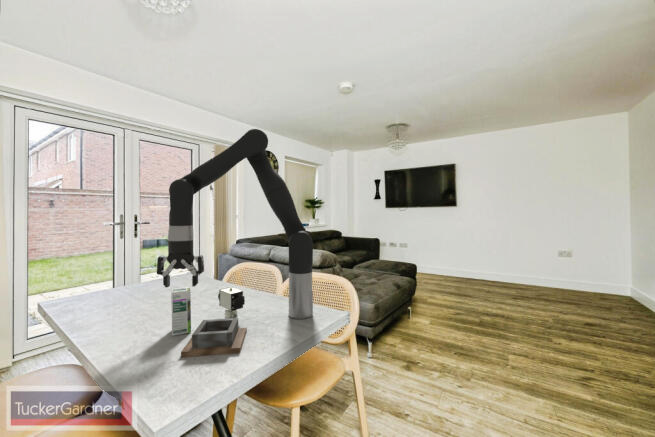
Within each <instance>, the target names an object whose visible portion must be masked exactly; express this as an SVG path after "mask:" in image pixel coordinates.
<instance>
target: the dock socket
mask: <svg viewBox="0 0 655 437" xmlns="http://www.w3.org/2000/svg"><path fill="white" fill-rule="evenodd" d="M247 329H248V327H239V317H238V318H230V319H225V318H218V319H216V318H214V319H203V320H202V321H201V322H200V323H199V325H198V326H197V327H196V329H195V330H194V331H193V333H192V334H191V337H190V339H189V340H188V342H187V343H186V345H185V346H184V347H183V349H182V350H181V351H180V358H187V357H202V356H203V357H204V356H215V355H216V356H217V355H230V354H231V355H232V354H241V351H242V348H243V345H244V343H245V339H246V335H247V332H248V331H247Z"/></svg>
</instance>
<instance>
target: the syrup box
mask: <svg viewBox="0 0 655 437" xmlns="http://www.w3.org/2000/svg"><path fill="white" fill-rule="evenodd" d="M170 295H171V296H170V298H171V300H170V301H171V336H172V337H174V336H177V335H178V336H179V335H185V334H190V333H191V332H192V318H191V316H192V315H191V314H192V311H191V310H192V309H191V305H192V304H191V301H192V298H191V295H192V294H191V286H186V287H178V288H177V287H176V288H172V289H171V294H170Z"/></svg>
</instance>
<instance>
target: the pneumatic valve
mask: <svg viewBox="0 0 655 437" xmlns="http://www.w3.org/2000/svg"><path fill="white" fill-rule="evenodd" d="M217 299H218V301H219V307H222V308H224V309H225V310H224V315H225V316H224V319H230V318H238V319H239V317H238V310H241V309H243V308H244V305H245V304H246V303H245V296H244V291H243V290H241V289H239V288H233V286H232V287H231V286H230V287H225V288H222V289H221V288H220V289H219V291H218V294H217Z"/></svg>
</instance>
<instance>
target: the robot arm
mask: <svg viewBox="0 0 655 437" xmlns="http://www.w3.org/2000/svg"><path fill="white" fill-rule="evenodd" d="M268 145H269V138H268V136H267V134H266V133H265V132H264V131H263V130H262V129H258V128H252V129H249V130H248V131H247V132H245V133H244V134H243V135H242V136H241V137H240V138H238V140H236V141H235V142H234V143H233V144H231V145H230V146H229V147H227V148H226V149H225V150H222V151H221V152H220V153H218V154H217V155H216V156H214V157H212V158H210V159H209V160H207V161H205V162H204V163H201V164H200V165H199V166H196V168H194V169H193V170H192V171H191V172H190V173H188V174H186V175H184V176H183V177H181V178H179V179H178V178H177V179H175V180H173V181H172V182H171V183H170V185H169V187H168V193H169V207H170V208H169V213H168V214H169V215H168V234H167V242H168V243H167V246H168V247H167V252H168V254H167V256H164V255H161V256H158V257H157V259H156V260H157V262H156V263H157V265H156V275H161V276H162V283H163V286H164V288H169V287H170V286H171V275H170V273H171V272H172V271H173V270H188V271H189V272H190V273H191V275H192V276H191V277H192V278H191V279H192V280H191V283H192V284H191V286H192V287H194V288H195V287H197V285H198V284H199V275H200V274H203V273H204V272H205V264H204V263H205V262H204V261H205V260H204V256H203V255H197V256H196V255H194V228H193V224H194V223H193V221H194V220H193V204H194V203H193V202H194V195H195V194H197V193H198V192H199V191H201V190H202V189H204V188H206V187H208V186H209V185H212V184H213V183H215V182H216V181H217V180H219V179H221V178H222V177H223V176H224V175H226V174H227V173H228V172H230V171H231V170H232V169H233V168H234V167H235V166H236V165H237V164H239V163H240V162H242V161H243V160H245V159H246V160H247V161H248V164H250V166H251V168H252V170H253V171H254V173H255V175H256V178H257V180H258V183H259V186H260V187H261V190H262V192H263V194H264V197H265V199H266V200H267V203H268V204H269V206H270V208H271V210H272V211H273V213H274V215H275V216H276V217H277V219H278V220H279V222H280V224H281V226H282V227H283V229H284V232H285V236H286V239H287V241H288V316H289V317H290V318H292V319H297V320H299V319H300V320H301V319H303V320H304V319H308V318H312V317H314V310H313V309H314V305H313V304H314V291H313V262H314V258H313V256H314V243H313V242H314V241H313V239H312V236H311V235H310V234H309V233H308V231H307V229H306V228H305V226H304V225H303V222H302V221H301V219H300V218H299V215H298V213H297V208H296V204H295V203H294V199H293V197H292V195H291V192H290V190H289V188H288V186H287V184H286V182H285V181H284V179H283V178H282V177H281V175H280V174H279V173H278V172H277V171H276V170H275V168H274V167H273V165H272V164H271V161H270V159H269V157H268V154H267V152H266V150H267V148H268ZM194 261H195V262H196V263H197V268H196V265H195V264H194V263H193V262H194ZM166 262H168V264H169V265H168V266H167V267H166V268H165V263H166Z"/></svg>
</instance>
